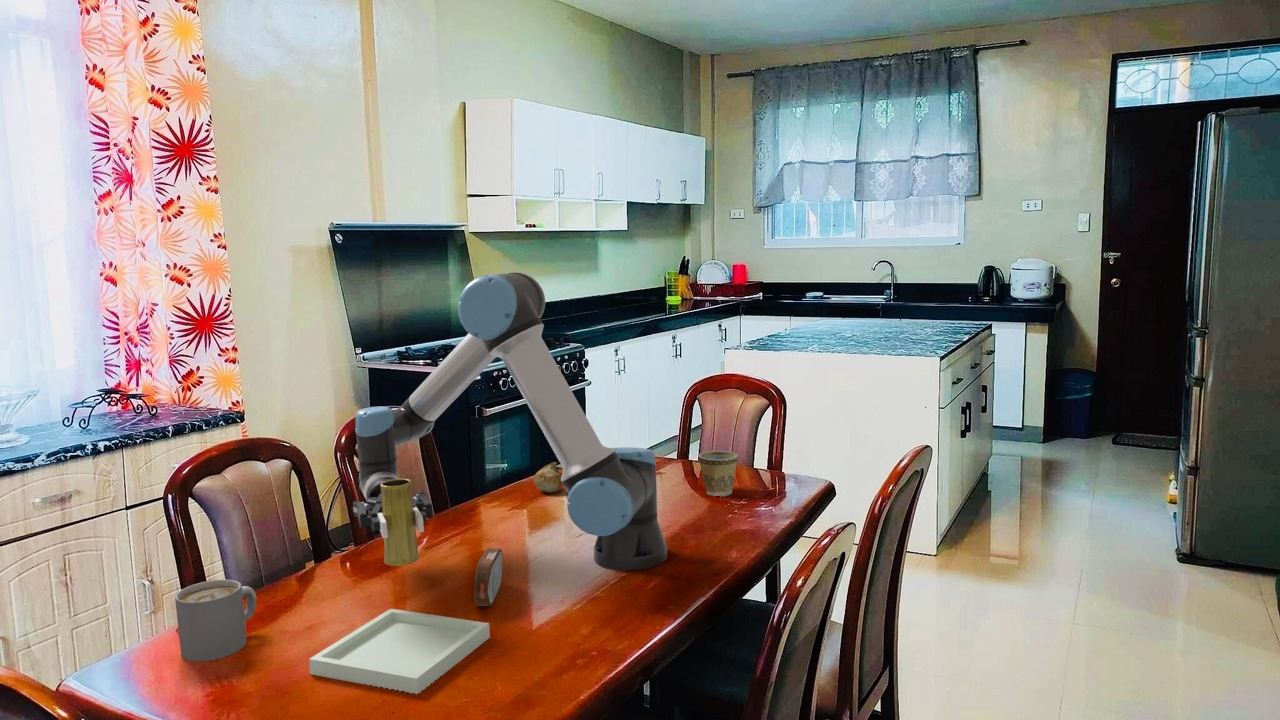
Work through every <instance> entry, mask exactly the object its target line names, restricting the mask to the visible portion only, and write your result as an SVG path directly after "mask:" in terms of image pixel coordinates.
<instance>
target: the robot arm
mask: <svg viewBox="0 0 1280 720" xmlns="http://www.w3.org/2000/svg"><path fill="white" fill-rule="evenodd" d="M457 308H458V309H457V311H458V317H459V321H460V323H461V325H462V326H463V328H464V330H465V331H466V332H467V334H466V335H465V336H464V338H462V339H461V341H460V342H459V343H458V344H456V346H455V347H454V348H453V350H451V352H450V353H448V355H447V356H446V357H445V358H443V360H442V361H441V362H440V364H439V365H438V366H437V367H436V368H435V369H434V370H432V372H431V373H430V374H429V375H428V376H427V377H426V378H425V380H424V381H422V383H421V384H420V385H419V386H418V387H417V388H416V389H415V390H414V391H413V392H412V393H411V395H409V397H408V398H407V399H406V400H405V401H404V403H402V404H401V405H400V406H399V408H397V409H395V410H393V409H392V407H389V406H370V407H366V408H365V407H364V408H362V409H359V410H358V411H357V412H356V414H355V429H354V430H355V437H356V447H357V456H358V457H357V458H358V468H359V470H358V471H359V476H358V487H359V490H360V491H361V493H362V494H363V496H364V498H365V500H366V503H365V502H364V501H362V502H361V501H360V500H359V501H358V500H355V501H353V502H352V505H353V506H352V508H353V516H355V517H356V518H358V522H359V527H360V528H361V529H366V528H368V526H370V527H371V532H373V533H374V532H378V531H379V533H380V535H381V536H382V539H384V538H388V536H387V524H386V520H385V518H384V516H383V512H382V498H381V485H380V484H381V483H382V482H385V481H388V480H393V479H400V478H399V473H398V471H399V470H398V469H399V468H398V458H397V455H398V454H397V448H399V447H400V446H403V445H405V444H408V443H411V442H413V441H416V440H419V439H421V438H423V437H424V436H426V435H427V434H429V433H431V431H432V430H433V428H434V426H435V421H436V420H437V419H438V418H439V417H440V416H441V415H442V414H443V413H444V412H445V411H446V410H447V409H448V408H449V407H450V406H451V405H452V403H454V401H455V400H456V399H458V397H459V396H460V395H462V393H463V392H464V391H465V390H466V389H467V388H468V387H469V386H470V385H471V383H472V382H474V381H475V380H476V379H477V378H478V377H479V375H480V374H482V373H483V371H485V369H486V368H487V367H488V366H489V365H491V363H492V362H493V361H494V360H495V359H496V358H500V359H501V360H502V362H503V363H504V365H505V366H506V369H507V371H508V372H509V374H510V377H512V379H513V381H514V383H515V385H516V387H517V388H518V390H519V392H520V393H521V396H522V397H523V399H524V401H525V403H526V404H527V406H528V408H529V409H530V412H531V413H532V415H533V416H534V419H535V421H536V422H537V424H538V426H539V428H540V429H541V431H542V433H543V434H544V437H545V438H546V440H547V442H548V444H549V446H550V447H551V449H552V451H553V453H554V454H555V457H556V458H557V460H558V462H559V463H560V464H561V465H562V467H563V469H562V473H561V474H562V476H561V482H562V483H563V487H564V489H565V490H566V492H567V495H568V496H567V501H566V509H567V511H568V512H567V513H568V515H569V518H570V520H571V521H572V522H573V524H574V525H575V526H576V527H577V528H578V529H579V530H581V531H583V532H584V533H585V534H588V535H591V536H595V537H596V539H595V543H594V546H593V560H594V562H595V563H596V564H597V565H599V566H601V567H603V568H605V569H611V570H616V571H617V570H619V571H635V570H636V571H637V570H643V569H644V570H645V569H649V568H652V567H653V568H654V567H655V566H658V565H660V564H662V563H664V562H666V560H667V558H668V547H667V542H666V540H665V537H664V534H663V531H662V530H661V527H660V524H659V520H658V496H657V495H658V494H657V462H656V454H655V453H654V451H653V450H651V449H649V448H645V447H644V448H643V447H608V446H607V447H606V446H604V445H603V444H602V443H601V441H600V438H599V437H598V436H597V434H596V432H595V430H594V428H593V426H592V425H591V422H590V421H589V419H588V418H587V416H586V414H585V412H584V410H583V408H582V407H581V405H580V404H579V401H578V400H577V397H575V394H574V393H573V391H572V389H571V387H570V385H569V384H568V382H567V380H566V379H565V376H564V375H563V374H562V371H561V370H560V368H559V366H558V364H557V362H556V361H555V359H554V357H553V356H552V353H551V351H550V350H549V348H548V346H547V345H546V343H545V341H544V340H543V338H542V334H543V331H544V327H545V325H544V323H543V321H542V320H541V318H542V316H543V314H544V311H545V308H546V297H545V293H544V290H543V288H542V286H541V284H540V283H539V282H538V280H536V279H535V278H533V277H532V276H530V275H529V274H525V273H523V272H522V273H521V272H509V273H499V274H497V273H495V274H494V273H490V274H485V275H483V276H480V277H478V278H475V279H473V280H472V281H470V282H469V283H468V284H467V285H466V286H465V288H464V289H463V291H462V292H461V294H460V298H459V302H458V306H457ZM412 502H413V511H414V520H415V527H416V528H417V531H418V532H419V533H424V532H425V528H424V523H427V520H428V519H432V518H434V513H433V512H434V509H433V503H432V502H431V501H430V500H429V499H428V498H427V492H425V491H421V492H419V493H417V494H415V496H412ZM367 512H370V514H369V515H367Z"/></svg>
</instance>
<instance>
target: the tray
mask: <svg viewBox="0 0 1280 720" xmlns="http://www.w3.org/2000/svg"><path fill="white" fill-rule="evenodd" d="M490 634H491V633H490V623H489V622H483V621H475V620H469V619H463V618H455V617H449V616H443V615H436V614H429V613H422V612H417V611H416V612H415V611H409V610H404V609H403V610H402V609H395V608H389V609H388V610H386V611H384V612H383V613H381V614H380V615H378V616H376V617H375V618H374V619H373V618H372V619H371V620H370V621H368V622H367V623H365V624H364V625H362V626H360V627H359V628H357V629H355V630H354V631H352V632H350V633H349V634H348V635H345V636H344V637H342V638H341V639H339V640H338V641H336V642H334V643H332V644H331V645H329V646H328V647H326V648H323V650H321V651H320V652H317V654H314V655H313V656H311V657H310V658H308V662H309V663H308V664H309V673H310V675H312V676H313V675H314V676H318V677H322V678H323V677H324V678H329V679H334V680H339V681H344V682H351V683H356V684H361V685H365V684H366V686H370V685H372V686H371V687H375V686H377V688H380V687H383V688H382V689H386V688H388V689H387V690H391V689H394V690H393V691H396V690H399V691H398V692H401V691H405V692H404V693H407V692H409V693H408V694H412V693H413V695H417V694H418V693H419V694H420V693H422V692H423V691H424V690H426V689H427V688H428V687H429V686H430V685H432V684H433V683H434V682H436V681H437V680H438V679H439V678H441V677H442V676H443V675H445V673H447V672H449V670H451V669H452V668H453V667H455V666H456V665H457V664H459V663H460V662H461V661H462V660H463V659H465V658H466V657H467V656H469V655H470V654H471V653H472V652H473V651H475V650H476V649H477V648H478V647H479V648H480V646H481V645H482V644H483V643H485V642H486V641H487V640H490V638H491V635H490ZM440 676H441V677H440ZM435 680H436V681H435ZM431 683H432V684H431ZM426 687H427V688H426ZM422 690H423V691H422ZM421 691H422V692H421ZM414 693H415V694H414ZM419 694H418V695H419Z"/></svg>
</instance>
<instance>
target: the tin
mask: <svg viewBox="0 0 1280 720" xmlns="http://www.w3.org/2000/svg"><path fill="white" fill-rule="evenodd" d="M503 557H504V552H503V550H502V549H501V548H496V547H495V548H494V547H487V548H486V549H485V551H484V553H483V554H482V556H481V558H480V559H479V561H478V563H477V566H476V570H475V577H474V578H475V579H474V587H473V588H474V594H473V595H474V603H475V607H488V608H489V607H491V606H492V605H493V604H494V602H495V600H496V598H497V597H498V594H499V592H500V590H501V586H502V583H503Z"/></svg>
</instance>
